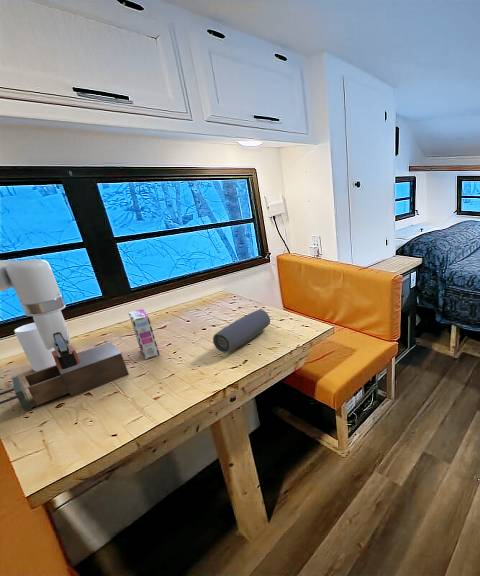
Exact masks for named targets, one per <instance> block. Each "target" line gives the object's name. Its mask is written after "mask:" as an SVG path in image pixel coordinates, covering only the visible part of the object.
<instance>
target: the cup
mask: <svg viewBox="0 0 480 576" xmlns="http://www.w3.org/2000/svg"><path fill="white" fill-rule="evenodd" d="M13 332H14V334H15V337H16V338H17V340H18V342H19V344H20V346H21V348H22V350H23V353H24V354H25V356H26V358H27V360H28V362H29V364H30V366H31V368H32V370H33V371H34V372H37V371H40V370H42V369H45V368H48V367H51V366H54V365H56V363H55V360H54V357H53V355H52V353H51V352H52V351H54V350H55V349H54V347H53V348H51V350H48V349H46V347H45V345H44V343H43V340H42V338H41V336H40V334H39V331H38V329H37V327H36V324H35V322H31V323H27V324H23V325H21V326H19V327H17V328H15V329H14V330H13ZM55 345H56V344H55Z"/></svg>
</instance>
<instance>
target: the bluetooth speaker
mask: <svg viewBox="0 0 480 576" xmlns="http://www.w3.org/2000/svg"><path fill="white" fill-rule="evenodd" d="M270 324H271V318H270V315H269V314H268V312H267V311H265V310H264V309H256V310H254V311H252V312H249V313H248V314H246V315H245V316H242V317H241V318H239V319H237V320H235V321H233V322H231V323H230V324H228V325H227V326H225V327H224V328H222V329H220V330H219V331H218V332H216V333H215V334H214V335H213V336H212V343H213V345H214V347H215V349H217V350H218V351H219V352H221V353H225V354H227V353H229V352H232V351H233V350H235V349H237V348H239V349H240V348H241V347H243V346H244V345H246V344H248V343H249V342H252V340H254V339H255V338H256V337H257V335H258V334H260V333H261V332H262V331H264V330H265V329H266V328H267V327H268V326H270Z"/></svg>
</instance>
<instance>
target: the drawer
mask: <svg viewBox="0 0 480 576" xmlns="http://www.w3.org/2000/svg"><path fill="white" fill-rule="evenodd" d="M24 378H25V380H26V382H27V383H28V386H27V389H28V391H29V393H30V395H31V397H32V398H33V401H34V402H35V405H36V406H39V405H42V404H44V403H47V402H50V401H52V400H54V399H57V398H59V397H62V396H64V395H67V394H70V393H69V391H68V389H67V387H66V385H65V382H64V380H63V378H62V376H61V374H60V372H59V369H58V367H57V365H54V366H51V367H48V368H45V369H42V370H40V371H37V372H35V371H34V372H30V373H28V374H25V375H24ZM11 380H12V385H13V388H10V389H7V390H3V391H1V392H0V396H2V395H5V394H9V393H11V392H14V394H15V395H14V396H12V397H11V396H10V397H9V398H5V399H3V400H0V405H3V404H6V403H8V402H11V401H13V400H16V399H17V400H18V401H19V403H20V405H21V407H22V409H23V411H24V413H27V412H29V411H31V410H32V407H31V404H30V400H29V395H28V393H27V391H26V389H25V387H24V385H23V383H22V382H21V380H20V378H19V376H18V375H17V376H14V377H12V378H11Z"/></svg>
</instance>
